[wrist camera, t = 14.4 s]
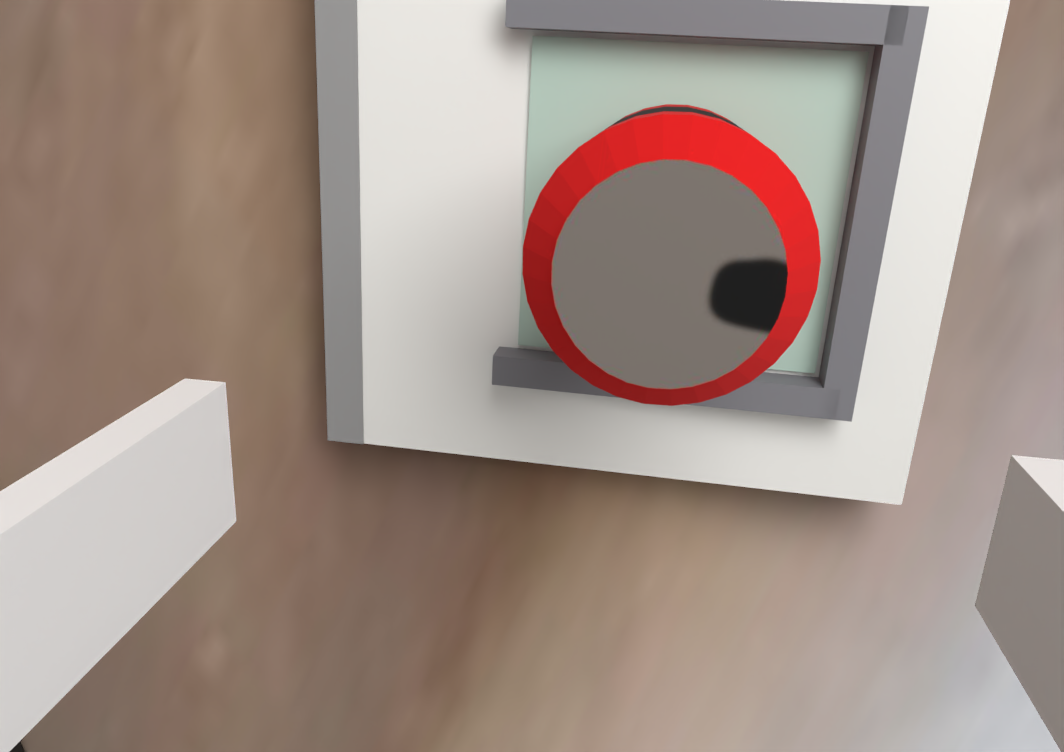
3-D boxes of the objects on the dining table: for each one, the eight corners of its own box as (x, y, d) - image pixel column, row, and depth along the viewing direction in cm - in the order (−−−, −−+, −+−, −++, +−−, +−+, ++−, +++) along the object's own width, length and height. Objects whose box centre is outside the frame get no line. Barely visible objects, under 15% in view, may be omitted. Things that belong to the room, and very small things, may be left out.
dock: (352, 414, 41) (316, 451, 37) (342, -116, 33) (296, -143, 29) (884, 473, 37) (909, 520, 33) (1002, -99, 30) (1051, -126, 26)
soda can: (751, 323, 33) (791, 447, 22) (556, 293, 34) (498, 398, 23) (794, 118, 30) (864, 138, 19) (582, 91, 31) (531, 96, 20)
